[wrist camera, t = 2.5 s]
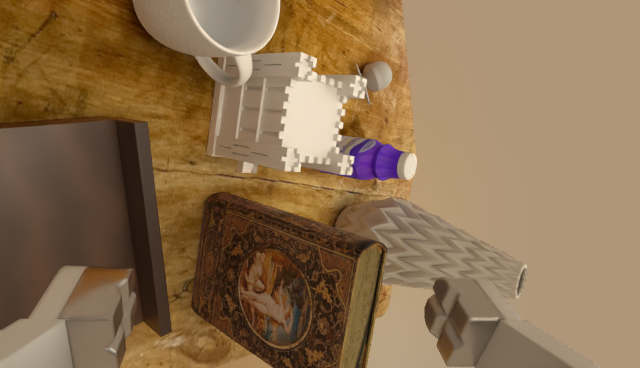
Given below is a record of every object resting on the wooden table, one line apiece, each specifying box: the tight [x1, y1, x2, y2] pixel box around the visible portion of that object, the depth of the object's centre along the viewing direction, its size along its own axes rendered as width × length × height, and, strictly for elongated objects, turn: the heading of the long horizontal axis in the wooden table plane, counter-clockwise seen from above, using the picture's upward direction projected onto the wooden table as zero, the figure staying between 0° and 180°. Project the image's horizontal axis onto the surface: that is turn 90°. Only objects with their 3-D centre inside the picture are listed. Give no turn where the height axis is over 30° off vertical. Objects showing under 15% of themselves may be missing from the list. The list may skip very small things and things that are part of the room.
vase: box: [335, 197, 527, 299], centre depth 68 cm, size 17×17×33 cm
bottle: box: [318, 136, 417, 181], centre depth 62 cm, size 7×6×17 cm
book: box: [192, 192, 387, 368], centre depth 46 cm, size 16×6×25 cm, turn 166°
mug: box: [132, 0, 280, 87], centre depth 40 cm, size 15×11×13 cm
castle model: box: [207, 52, 367, 175], centre depth 50 cm, size 13×15×14 cm
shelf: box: [0, 117, 172, 337], centre depth 35 cm, size 14×22×9 cm, turn 179°
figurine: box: [347, 61, 392, 105], centre depth 70 cm, size 8×5×12 cm
